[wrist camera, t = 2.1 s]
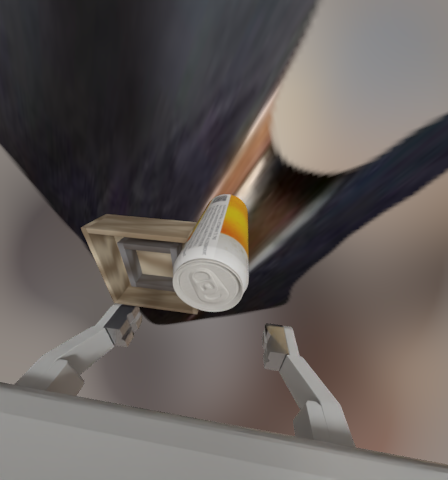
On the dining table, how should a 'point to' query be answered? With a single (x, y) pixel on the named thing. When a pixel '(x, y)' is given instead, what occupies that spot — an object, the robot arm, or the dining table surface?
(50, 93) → the dining table surface
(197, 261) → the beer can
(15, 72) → the dining table surface
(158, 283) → the crate
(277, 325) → the robot arm
